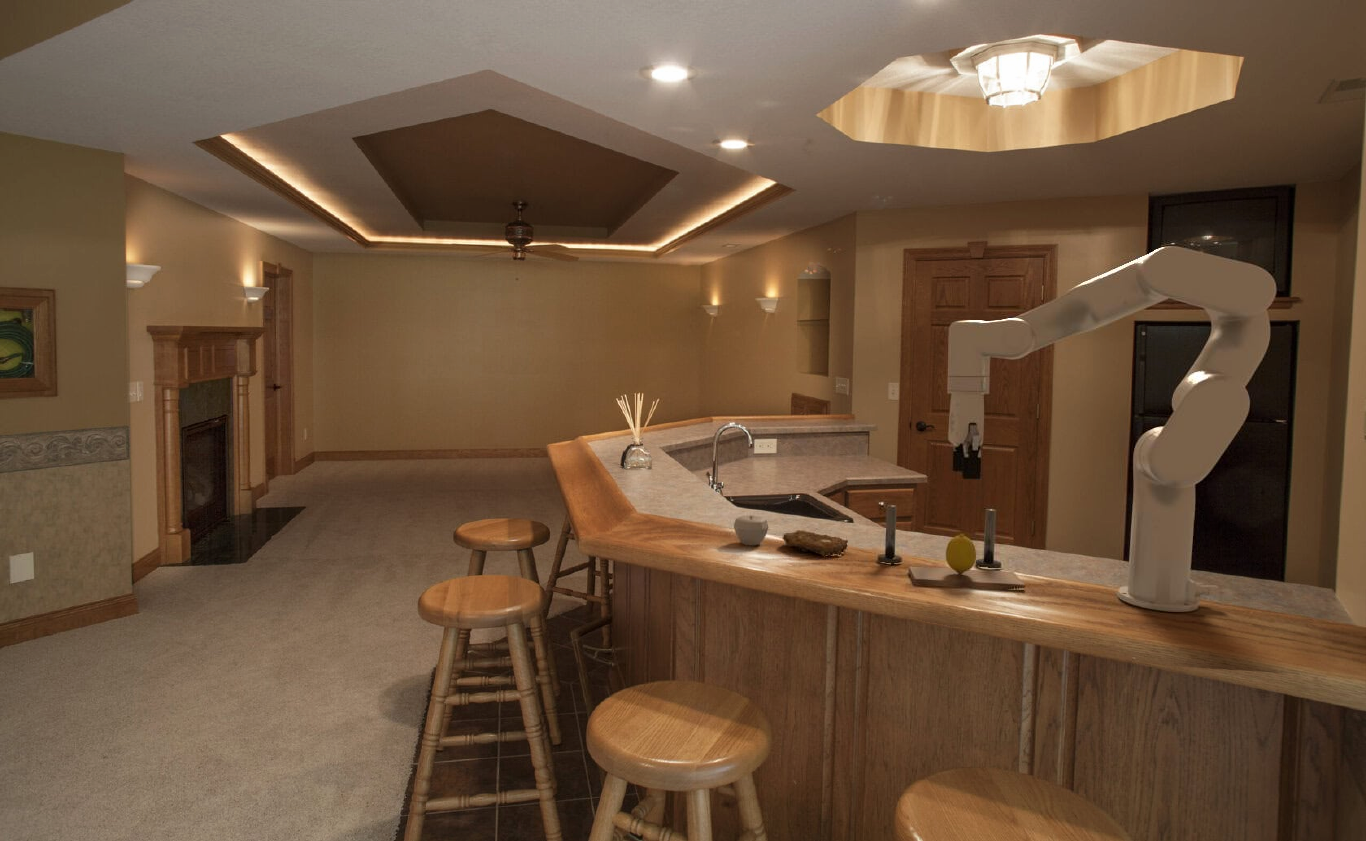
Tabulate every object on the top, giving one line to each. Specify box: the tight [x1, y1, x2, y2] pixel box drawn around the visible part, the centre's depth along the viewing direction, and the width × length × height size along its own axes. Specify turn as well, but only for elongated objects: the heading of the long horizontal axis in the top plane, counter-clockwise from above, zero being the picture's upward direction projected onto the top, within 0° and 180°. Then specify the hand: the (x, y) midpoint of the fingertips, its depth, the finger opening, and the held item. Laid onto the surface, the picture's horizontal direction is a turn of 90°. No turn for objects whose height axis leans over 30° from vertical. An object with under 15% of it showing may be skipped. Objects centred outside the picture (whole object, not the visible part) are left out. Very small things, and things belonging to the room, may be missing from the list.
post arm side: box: [975, 508, 1002, 569], centre depth 167 cm, size 5×5×12 cm
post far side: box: [877, 504, 903, 564], centre depth 170 cm, size 5×5×12 cm
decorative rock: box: [782, 530, 849, 558], centre depth 180 cm, size 11×4×15 cm
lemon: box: [945, 533, 977, 575], centre depth 157 cm, size 6×6×8 cm
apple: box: [733, 514, 769, 546], centre depth 185 cm, size 8×8×7 cm
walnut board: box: [908, 565, 1026, 590], centre depth 157 cm, size 20×9×1 cm, turn 82°
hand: (966, 474), depth 155 cm, fingers open, 9 cm apart
